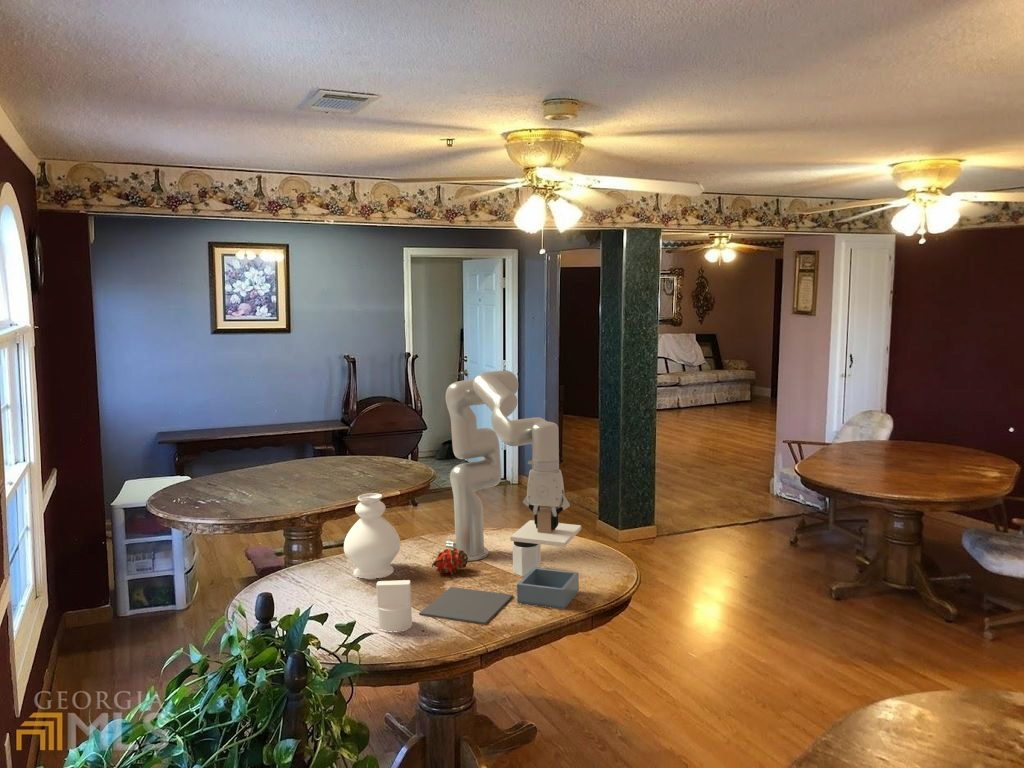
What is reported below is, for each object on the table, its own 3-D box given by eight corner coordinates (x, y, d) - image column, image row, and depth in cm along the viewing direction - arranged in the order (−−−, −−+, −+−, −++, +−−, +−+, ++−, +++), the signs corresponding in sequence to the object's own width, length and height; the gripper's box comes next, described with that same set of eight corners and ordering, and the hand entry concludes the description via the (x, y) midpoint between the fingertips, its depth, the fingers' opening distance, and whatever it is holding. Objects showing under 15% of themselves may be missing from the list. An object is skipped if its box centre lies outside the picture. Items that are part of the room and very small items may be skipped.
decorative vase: (407, 577, 248) (404, 499, 244) (350, 586, 241) (346, 506, 238) (394, 559, 264) (391, 486, 261) (340, 567, 258) (336, 493, 254)
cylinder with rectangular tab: (413, 617, 217) (411, 575, 215) (410, 632, 208) (408, 588, 206) (380, 619, 217) (378, 577, 215) (376, 633, 208) (374, 589, 206)
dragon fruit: (472, 575, 252) (436, 586, 248) (463, 553, 258) (428, 564, 254) (472, 560, 246) (435, 571, 242) (464, 538, 252) (427, 548, 248)
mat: (419, 615, 218) (419, 612, 218) (451, 588, 237) (450, 586, 237) (485, 624, 211) (485, 622, 211) (512, 596, 230) (512, 594, 229)
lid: (510, 540, 222) (509, 516, 221) (530, 523, 237) (529, 500, 236) (564, 546, 216) (564, 521, 215) (581, 529, 231) (581, 505, 230)
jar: (546, 572, 248) (545, 535, 247) (526, 579, 243) (525, 541, 242) (527, 565, 255) (527, 529, 254) (508, 571, 250) (507, 534, 248)
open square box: (517, 604, 225) (516, 584, 224) (534, 586, 238) (533, 567, 237) (564, 610, 220) (563, 590, 219) (578, 592, 232) (578, 572, 232)
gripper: (513, 466, 223) (514, 528, 226) (569, 470, 217) (570, 534, 220) (522, 460, 230) (523, 521, 233) (577, 464, 224) (578, 526, 227)
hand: (546, 527), depth 226 cm, fingers closed on lid, 4 cm apart
